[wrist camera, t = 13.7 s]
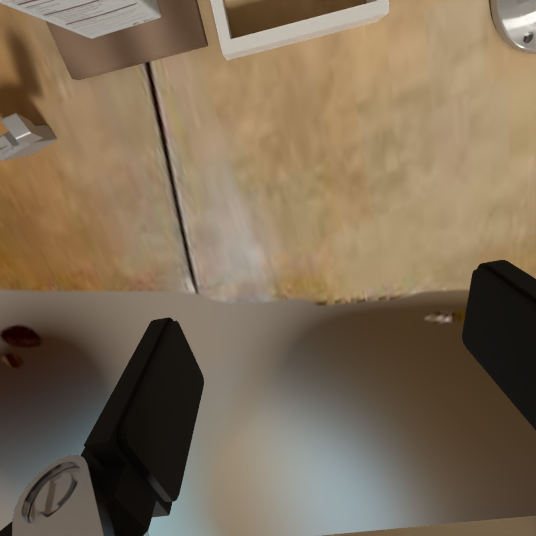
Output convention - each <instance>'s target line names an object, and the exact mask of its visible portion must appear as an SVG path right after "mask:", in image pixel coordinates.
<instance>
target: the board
mask: <svg viewBox="0 0 536 536" xmlns="http://www.w3.org/2000/svg"><path fill="white" fill-rule="evenodd" d="M157 3H158V6H159V10H160V13H161V17H160V18H158V19H155V20H151V21H148V22H145V23H142V24H138V25H135V26H132V27H128V28H125V29H122V30H118V31H115V32H112V33H108V34H105V35H102V36H99V37H96V38H93V39H91V38H88V37H85V36H83V35H80V34H78V33H75V32H73V31H70V30H68V29H65V28H63V27H60V26H58V25H55V24H53V23H50V22H48V21H46V23H47V25H48V27H49V29H50V32H51V34H52V36H53V38H54V40H55V43H56V45H57V47H58V49H59V51H60V54H61V56H62V58H63V60H64V62H65V65H66V67H67V69H68V71H69V73H70V76H71V78H72V79H76V80H81V79H85V78H88V77H92V76H96V75H100V74H104V73H107V72H111V71H115V70H119V69H123V68H126V67H130V66H134V65H138V64H142V63H145V62H149V61H153V60H157V59H161V58H164V57H168V56H172V55H176V54H180V53H184V52H187V51H191V50H195V49H199V48H203V47H206V46H208V43H207V39H206V35H205V31H204V27H203V23H202V19H201V15H200V11H199V7H198V3H197V0H157Z"/></svg>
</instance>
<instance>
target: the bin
mask: <svg viewBox="0 0 536 536" xmlns="http://www.w3.org/2000/svg"><path fill="white" fill-rule="evenodd" d="M210 1H211V5H212V10H213V14H214V18H215V23H216V27H217V32H218V36H219V40H220V45H221V49H222V53H223V56H224V57H225V59H226V60H231V59H234V58H238V57H242V56H246V55H250V54H254V53H258V52H262V51H266V50H270V49H274V48H277V47H281V46H285V45H289V44H293V43H297V42H301V41H305V40H309V39H313V38H316V37H320V36H324V35H328V34H332V33H336V32H340V31H344V30H348V29H352V28H355V27H359V26H363V25H367V24H371V23H375V22H378V21H379V20H380V19H381V18H383V17H384V16H385V15H387V14H388V13H389V0H366V4H363V5H359V6H355V7H352V8H348V9H344V10H340V11H336V12H333V13H329V14H325V15H321V16H317V17H314V18H310V19H306V20H302V21H298V22H295V23H291V24H287V25H283V26H279V27H276V28H272V29H268V30H264V31H260V32H257V33H253V34H249V35H245V36H241V37H238V38H234V39H232V35H231V30H230V25H229V20H228V16H227V11H226V6H225V1H224V0H210Z"/></svg>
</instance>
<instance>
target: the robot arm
mask: <svg viewBox="0 0 536 536" xmlns="http://www.w3.org/2000/svg"><path fill="white" fill-rule="evenodd" d="M491 11H492V17H493V21H494V24H495V27H496V29H497V32H498V33H499V35H500V36H501V37H502V39H503V40H504V42H506V43H507V44H508V45H509V46H511V47H512V48H514V49H516V50H519V51H521V52H526V53H536V0H491ZM462 340H463V343H464V345H465V346H466V348H467V349H468V350H469V351H470V353H471V354H472V355H473V356H474V357H475V359H476V360H477V361H478V362H479V363H480V365H481V366H482V367H483V368H484V369H485V370H486V372H487V373H488V374H489V375H490V376H491V377H492V379H493V380H494V381H495V382H496V384H497V385H498V386H499V387H500V388H501V390H502V391H503V392H504V393H505V394H506V395H507V397H508V398H509V399H510V400H511V401H512V403H514V405H515V406H516V407H517V409H519V411H520V412H521V413H522V414H523V416H524V417H525V418H526V419H527V420H528V422H529V423H530V424H531V425H532V426H533V427H534V429H535V430H536V279H535V278H533V277H532V276H530V275H529V274H527V273H525V272H524V271H522V270H521V269H519V268H517V267H516V266H514V265H513V264H511V263H509V262H508V261H505V260H498V261H493V262H487V263H482V264H480V265H479V266H478V268H477V269H476V270H474V271H473V274H472V279H471V285H470V291H469V297H468V303H467V309H466V315H465V321H464V327H463V333H462ZM203 386H204V378H203V375H202V373H201V370H200V368H199V366H198V364H197V362H196V359H195V357H194V355H193V353H192V351H191V349H190V346H189V344H188V342H187V340H186V338H185V336H184V333H183V331H182V329H181V327H180V325H179V323H178V322H177V321H173V320H172V319H171V318H163V319H158V320H153V321H151V323H150V324H149V326H148V328H147V330H146V332H145V333H144V335H143V337H142V339H141V341H140V343H139V344H138V346H137V348H136V350H135V352H134V354H133V356H132V357H131V359H130V361H129V363H128V365H127V367H126V369H125V370H124V372H123V374H122V376H121V378H120V380H119V381H118V384H117V385H116V387H115V389H114V391H113V392H112V394H111V396H110V398H109V400H108V402H107V404H106V406H105V407H104V409H103V411H102V413H101V415H100V416H99V418H98V420H97V422H96V424H95V426H94V427H93V429H92V431H91V433H90V435H89V437H88V439H87V441H86V442H85V444H84V446H85V449H84V450H83V452H82V454H81V456H79V455H68V456H66V457H63V458H60V459H58V460H57V461H55V462H53V463H51V464H50V465H49V466H47V467H46V468H45V469H44V470H42V471H41V472H40V473H39V474H38V475H37V476H36V477H35V478H34V479H33V480H32V482H30V483H29V485H28V486H27V487H26V489H25V490H24V492H23V493H22V495H21V496H20V498H19V500H18V502H17V505H16V507H15V510H14V515H13V521H12V522H11V523H10V524H8V525H7V526H6V527H5V528H3V529H2V530H1V531H0V536H149V534H148V529H149V525H150V522H151V518H152V517H158V516H168V515H169V514H170V510H171V506H172V502H173V501H175V500H177V498H178V496H179V493H180V488H181V484H182V480H183V475H184V471H185V466H186V462H187V457H188V453H189V448H190V443H191V440H192V435H193V430H194V426H195V422H196V417H197V413H198V409H199V404H200V400H201V395H202V391H203ZM323 536H536V516H530V517H519V518H508V519H496V520H485V521H474V522H463V523H452V524H441V525H431V526H420V527H408V528H398V529H387V530H376V531H366V532H355V533H344V534H334V535H323Z"/></svg>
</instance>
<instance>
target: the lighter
mask: <svg viewBox="0 0 536 536" xmlns="http://www.w3.org/2000/svg"><path fill="white" fill-rule="evenodd" d="M1 121H2V123H3V124H4V125H5V126H6V128H7V129H8V130H9V132H7V133H5V134H4V135H2V136H0V160H1V161H3V160H8V159H13V158H19V157H24V156H29V155H33V154H34V153H36V152H38V151H40V150H41V149H43V148H45V147H47V146H48V145H50V144H52V143H54V142H55V141H57V138H56V136H55V135H54V133H53V132H52V131H51V129H50V128H49V127H48V126H47V125H37V126H34V124H33V123H32V122H31V121H30V120H29V119H27V118H25V117H23V116H21V115H19V114H17V113H14V114H12V115H10V116H7V117H5V118H2V119H1Z"/></svg>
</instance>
